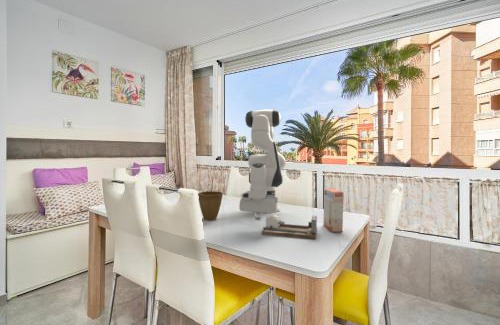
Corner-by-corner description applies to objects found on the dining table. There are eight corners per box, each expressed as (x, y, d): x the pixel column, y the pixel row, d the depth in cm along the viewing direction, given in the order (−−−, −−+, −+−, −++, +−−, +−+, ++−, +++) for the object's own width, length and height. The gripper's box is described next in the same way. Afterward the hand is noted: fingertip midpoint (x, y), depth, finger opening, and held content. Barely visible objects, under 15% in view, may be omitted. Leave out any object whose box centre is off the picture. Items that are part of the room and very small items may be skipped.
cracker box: (343, 232, 141) (344, 192, 140) (331, 232, 140) (332, 192, 139) (333, 224, 155) (334, 188, 153) (323, 224, 154) (323, 188, 153)
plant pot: (216, 223, 157) (216, 195, 156) (193, 220, 162) (193, 194, 161) (226, 217, 171) (226, 191, 170) (205, 215, 176) (205, 190, 175)
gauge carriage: (268, 224, 147) (269, 213, 147) (285, 225, 145) (285, 215, 144) (264, 229, 138) (264, 218, 137) (282, 231, 135) (282, 220, 135)
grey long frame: (267, 224, 149) (267, 211, 149) (316, 228, 142) (316, 215, 141) (263, 229, 139) (263, 216, 139) (315, 234, 132) (315, 220, 132)
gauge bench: (268, 226, 151) (268, 222, 151) (316, 230, 144) (316, 227, 144) (262, 234, 137) (262, 230, 137) (315, 239, 130) (315, 235, 130)
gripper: (278, 194, 144) (278, 220, 145) (242, 192, 150) (242, 217, 151) (276, 196, 138) (276, 223, 139) (238, 194, 144) (238, 220, 145)
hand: (258, 220), depth 145 cm, fingers closed
